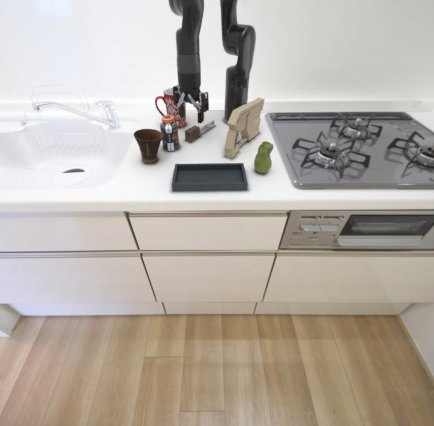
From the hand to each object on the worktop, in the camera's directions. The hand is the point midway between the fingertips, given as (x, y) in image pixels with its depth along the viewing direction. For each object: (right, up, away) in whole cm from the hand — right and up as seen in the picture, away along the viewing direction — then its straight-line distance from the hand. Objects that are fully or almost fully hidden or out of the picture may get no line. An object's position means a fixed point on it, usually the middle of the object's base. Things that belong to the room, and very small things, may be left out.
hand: (191, 119), depth 87 cm
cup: (-13, -16, -5) cm, 21 cm away
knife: (+3, -2, +8) cm, 9 cm away
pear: (+23, -21, -11) cm, 33 cm away
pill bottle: (-7, -10, +1) cm, 13 cm away
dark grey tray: (+7, -24, -14) cm, 28 cm away
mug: (-9, +4, +15) cm, 18 cm away
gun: (+19, -8, +2) cm, 21 cm away
